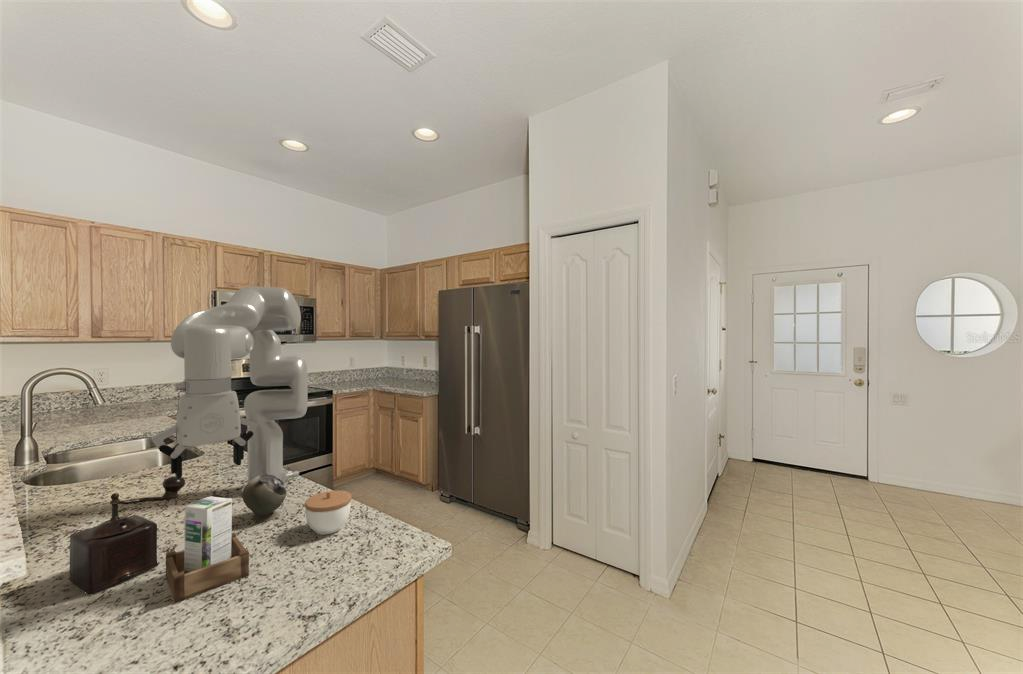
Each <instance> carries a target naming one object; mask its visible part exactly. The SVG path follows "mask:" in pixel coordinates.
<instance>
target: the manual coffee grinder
mask: <svg viewBox="0 0 1023 674" xmlns="http://www.w3.org/2000/svg"><path fill="white" fill-rule="evenodd" d="M185 485H186V480H185V478H184V477H183V476H182V477H181V478H177V477H176V475H173V476H170V477H167V478H165V479H164V480H163V481H162V487H163V490H164V493H163V495H161V496H157V497H156V496H155V497H154V496H153V497H150V496H149V497H147V496H146V497H140V498H134V499H132V498H131V499H128V500H120V498H119V497H120V494H119V493H118V492H113V493H112V494H111V495H110V499H111V500H110V502H109V505H111V517H110V519H107V520H105V521H103V522H102V523H100V524H98V525H96V526H93V527H90V528H86V529H83V530H80V531H77V532H74V533H71V534H70V537H69V581H70V583H71V584H72V585H73V586H75V587H76V588H77V589H79V590H81V591H82V590H83V591H84V592H83V591H82V592H83V593H85V592H86V593H87V595H90V594H93V595H95V594H97V593H100V592H103V591H104V590H107V589H110V588H113V587H115V586H117V585H119V584H122V583H124V582H127V581H129V580H132V579H134V578H135V577H137V576H140V575H142V574H145V573H146V572H149V571H151V570H153V569H155V568H157V567H158V566H159V564H158V523H156V522H154V521H152V520H150V519H147V518H145V517H142V516H139V515H137V514H133V515H129V516H120V515H119V505H125V506H126V505H133V504H139V503H140V504H141V503H147V502H163V501H166V502H170V501H171V500H175V499H178V498H179V494H178V492H179V491H180V490H181V489H182V488H184V487H185ZM86 593H85V594H86Z"/></svg>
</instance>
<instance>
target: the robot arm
mask: <svg viewBox="0 0 1023 674" xmlns="http://www.w3.org/2000/svg"><path fill="white" fill-rule="evenodd" d="M301 322H302V314H301V310H300V306H299V305H298V303H297V300H296V299H295V297H294V295H293V293H292V292H290V291H289V290H288V289H286V288H285V287H275V286H274V287H273V286H257V285H256V286H254V285H253V286H244V287H241V288H239V289H237V290H236V292H235V293H234V294H232V296H231V297H230V298H229V299H228V300H227V302H226V303H224V304H220V305H217V306H213V307H209V308H207V309H203V310H199V311H197V312H194V313H193V312H192V313H191V314H189V315H188V316H186V317H185V318H184V319H183V320H182V321H181V322H180V323H179V324H178V325H177V326H176V327H175V329H174V331H173V333H172V335H171V338H170V346H171V350H172V352H173V354H174V355H175V356H177V357H178V358H181V359H183V360H184V379H183V380H182V381H181V382H179V383H175V384H174V390H175V391H182V392H183V394H181V395H180V398H179V400H178V401H179V402H178V405H177V412H176V420H175V421H176V422H175V424H174V425H172V426H170V427H168V428H166V429H164V430H162V431H161V432H159V433H157V434H155V435H153V436H151V439H150V440H151V442H152V443H153V444H154V446H155V447H156V448H157V449H158V451H159V452H161V453H162V454H164V455H166V456H168V457H169V458H170V473H171V474H173V475H174V476H176V477H177V478H181V477H182V478H183V457H182V456H181V454H182V453H183V451H184V450H185V449H186V448H194V447H199V446H205V445H212V444H219V443H224V442H229V441H234V444H233V445H232V447H233V448H232V449H233V451H232V453H233V454H232V457H233V458H232V459H233V464H235V465H236V466H241V465H242V461H243V460H244V457H245V456H244V455H245V452H244V451H245V445H246V444H247V483H248V482H249V481H251V480H252V479H254V478H255V477H257V476H260V475H262V474H263V472H262V470H263V471H265V472H266V474H267V475H273V476H276V477H277V478H278V479H280V480H282V481H283V483H284V488H285V489H286V488H287V487H288V486H289V481H288V480H290V479H293V478H298V477H299V476H300V472H299V470H294V471H293V470H288V471H284V470H283V467H284V466H283V464H284V463H283V462H284V458H283V457H284V456H283V455H284V452H283V450H284V448H283V447H284V444H283V442H284V432H283V430H282V428H281V426H280V425H279V424H278V423H277V422H276V420H287V419H288V420H290V419H299V418H302V417H305V415H306V413H307V410H308V405H309V404H308V403H309V402H308V400H309V399H308V366H307V362H306V360H305V359H304V358H303V357H301V356H297V355H289V356H288V355H286V356H284V355H282V347H281V346H282V343H281V339H280V336H278V335H277V333H276V332H275V331H293V330H296V329H297V328H298V327H299V326H300V324H301ZM247 355H249V378H250V382H251V383H252V385H255V386H260V387H280V386H288V387H289V388H291V389H263V390H262V389H261V390H255V391H253V392H251V393H249V394H248V395H246V397H245V399H244V404H243V407H244V414H245V417H242V416H241V412H240V403H239V400H238V399H239V398H238V394H237V392H236V391H235V390H232V360H234V359H236V360H237V359H243V358H245V357H246V356H247ZM241 425H244V426H247V429H246V430H245V431H244V433H242V426H241ZM241 433H242V435H241ZM174 435H175V440H176V443H175V444H174V445H172V447H171V446H169V445H167V444H166V443H165V442H164V440H165V439H167V438H169V437H171V436H174ZM245 486H246V485H244V486H243V487H242V488H241V495H242V494H243V490H244V487H245Z"/></svg>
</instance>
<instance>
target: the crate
mask: <svg viewBox="0 0 1023 674" xmlns="http://www.w3.org/2000/svg"><path fill="white" fill-rule="evenodd" d="M231 534H232V537H231V558H230V559H227V560H224V561H221V562H218V563H215V564H213V565H210V566H207V567H204V568H201V569H198V570H195V571H192V572H189V573H186V574H184V549H181V550H180V551H176V550H173V551H169V552H167V553H165V578H166V582H167V585H168V589H169V591H170V595H171V597H172V600H173V603H174V604H178V603H180V602H183V601H186V600H188V599H190V598H193V597H195V596H198V595H201V594H204V593H206V592H209V591H211V590H215V589H216V588H219V587H221V586H224V585H227V584H230V583H232V582H236V581H238V580H241V579H243V578H246V577H248V576H249V575H250V551H249V550H248V549H246V548H245V547H244V545H243V544H242V542H241V541H240V539H239V538H238V537H237V534H236V533H235V532H232V533H231Z"/></svg>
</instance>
